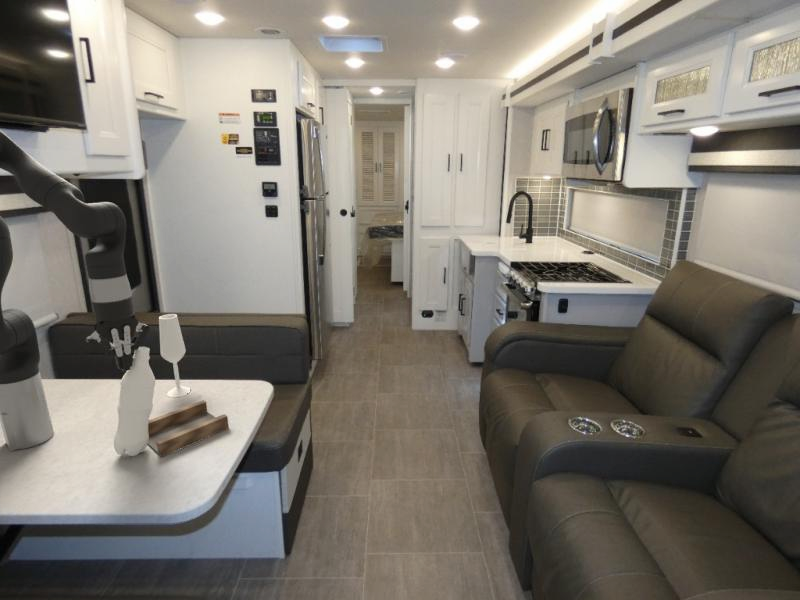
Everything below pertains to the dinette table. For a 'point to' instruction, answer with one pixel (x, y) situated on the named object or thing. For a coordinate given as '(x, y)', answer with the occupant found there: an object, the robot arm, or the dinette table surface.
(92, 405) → the dinette table surface
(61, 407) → the dinette table surface
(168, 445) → the walnut cradle
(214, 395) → the dinette table surface
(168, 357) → the champagne flute
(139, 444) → the water bottle
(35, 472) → the dinette table surface
